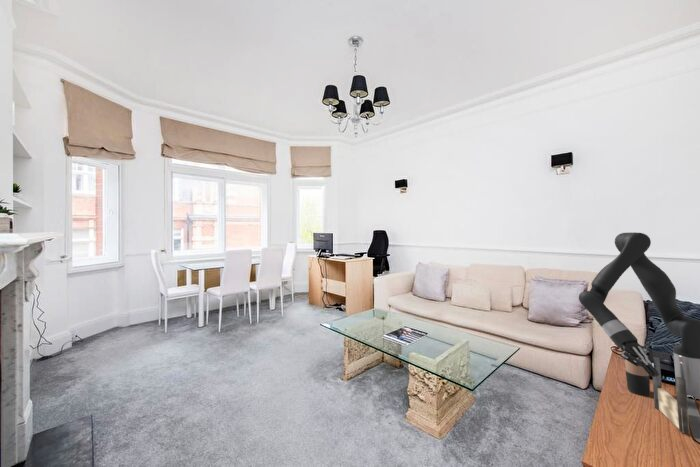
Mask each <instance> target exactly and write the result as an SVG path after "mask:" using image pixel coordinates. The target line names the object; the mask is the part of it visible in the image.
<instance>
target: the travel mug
mask: <svg viewBox="0 0 700 467" xmlns="http://www.w3.org/2000/svg"><path fill="white" fill-rule="evenodd" d="M641 346H642V347H643V348H644V349H646V350H648V347H646V346H644V345H641ZM634 362H635V361H634ZM624 365H625V366H624V367H625V378H626V386H627V390H628V391H629V392H630V393H632V394H635V395H638V396H641V397H642V396H643V397H644V396H645V397H648V396H650V394H651V382H650V381H651V379H650V377H651V376H650V375H649V374H648V373H647V372H646V371H645V369H644V368H642V367H641V366H635V365H634V364H632V363H630V362H629V361H627V360H625V359H624Z"/></svg>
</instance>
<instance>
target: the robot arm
mask: <svg viewBox="0 0 700 467" xmlns="http://www.w3.org/2000/svg"><path fill="white" fill-rule="evenodd" d="M651 242H652V241H651V239H650V236H649V235H647V234H646V233H644V232H621V233H618V235H616V236H615V239H614V245H615V247H616V249H617V250H618V252H619V254H618V255H617V256H616V257H615V258H614V259H613V260H612V261H610V262H609V263H608V264H606V265H605V266H604V267H602V269H600V270H599V272H598V273H597V274H596V276H595V277H594V279H593V280H592V282H591V287H590V289H589V290H584V291H582V292H580V293H579V295H578V301H579V303H580V304H581V305H582V306H583V308H585V310H587V312H589V314H591V316H592V317H593V318H594V320H595V321H596V323H598V324H599V326H600V327H601V328H602V330H603V331H604V333H605V334H606V336H607V337H608V338H609V339H610V340H611V341H612V342H613V343H614V345H615V346H616V347H617V348H618V349H620V350H621V352H622V353H621V354H620V355H619V356H620V357H621V358H623V359H624V361H625V360H627V361H629V362H630V363H632V364H634V365H635V366H641V367H642V368H644V369H645V371H646V372H647V373H648V374H649V375H650V377H652V378H653V377H656V376H658V375H659V373H658V372H657V371H656V370H655V368H654V367H653V366H652V363H654V358H653V357H654V355H653V350H652V349H649V348H647V350H646V349H644V348H643V347H642V346H643V345H642V344H640V343H639V341H638V338H637V337H636V336H635V335H634V334H633V332H632V331H631V330H630V329H629V328H628V326H626V325H625V323H623V322H622V321H621V320H620V319H619V318H618V317H617V316H616V314H614V312H612V310H611V309H609V308H608V307H607V306H606V305H605V301H606V300H607V297H608V295H609V292H610V291H611V289H612V288H613V287H614V286H615V284H616V283H617V282H618V280H619V279H620V278H621V276H622V275H623V274H624V273H625V272H626V271H628V269H629V268H630V267H631V269H632V270H633V272H634V274H635V275H636V277H637V278H638V281H640V284H641V286H642V287H643V289H644V291H646V293H647V295H648V296H649V298H650V299H651V300H652V302H653V304H654V306H655V307H656V308H657V311H658V312H659V315H660V317H661V319H662V321H663V323H664V325H665V327H666V328H667V331H669V333H671V334H672V335H674V336H677V337H679V338H681V344H674V345H673V347H672V349H673V350H672V352H673V363H674V365H673V366H674V375H675V376H674V378H675V377H681V378H684V379H685V381H686V394H687V395H691V396H694V397H695V398H698V399H700V320H698V319H695V318H692V317H687V316H685V314H684V313H683V312H682V311H681V310H680V308H679V306H678V305H677V302H676V300H677V290H676V287H675V285H674V284H673V282H672V280H671V278H670V277H669V276H668V275H667V273H666V272H665V271H664V270H662V269H661V268H660V267H659V266H657V264H655V263H654V262H653V261H651V260H650V259H649V258H648V257H647V256H646V254H645V253H646V252H647V251H648V250H649V248H651V245H652V244H651ZM634 361H635V362H634Z"/></svg>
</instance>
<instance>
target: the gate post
mask: <svg viewBox="0 0 700 467" xmlns="http://www.w3.org/2000/svg"><path fill="white" fill-rule="evenodd" d="M653 358H654V363H652V366H653V367H654V368H655V370H656V371H657V372H658V373H659V375H658V376H656V377H652V387H653V388H652V389H653V400H654V403H653V404H654V408H655V409H656V410H658V411H660V410H659V401H658V388H662V389H663V386H662V385H663V384H662V374H661V373H662V372H661V360H660V358H659V357H654V356H653Z"/></svg>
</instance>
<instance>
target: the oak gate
mask: <svg viewBox="0 0 700 467" xmlns="http://www.w3.org/2000/svg"><path fill="white" fill-rule="evenodd" d="M674 379H675V390H676V391H675V392H676V398H675V397H674V396H672V395H671V394H670V393H669V392H668V391H666V390H665V389H664V388H663V387H662V388H658V401H659V410H658V411H660V412H661V413H662V414H663V415H664V416H665V417H666V418H667V419H669V421H670V422H672V424H673V425H674V426H675V427H676V428H678V431H679V432H680V433H682V434H683V433H684V434H687V435H689V434H690V432H691V431H690V422H689V419H690V418H689V407H688V397H687V394H686V381H685V379H684V378H681V377H675V376H674Z"/></svg>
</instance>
